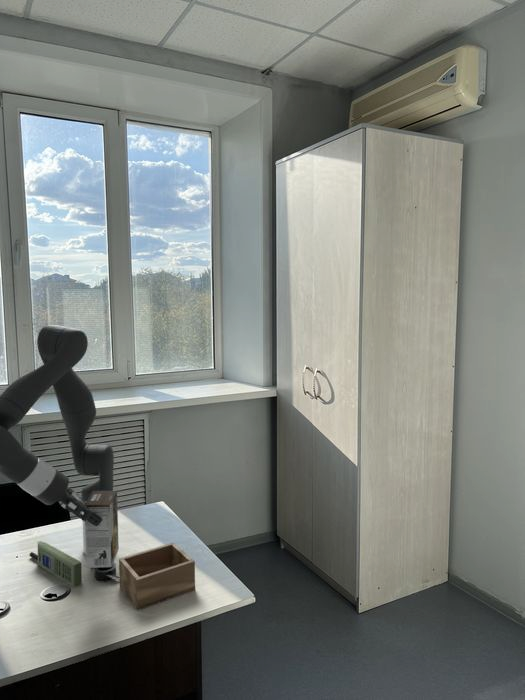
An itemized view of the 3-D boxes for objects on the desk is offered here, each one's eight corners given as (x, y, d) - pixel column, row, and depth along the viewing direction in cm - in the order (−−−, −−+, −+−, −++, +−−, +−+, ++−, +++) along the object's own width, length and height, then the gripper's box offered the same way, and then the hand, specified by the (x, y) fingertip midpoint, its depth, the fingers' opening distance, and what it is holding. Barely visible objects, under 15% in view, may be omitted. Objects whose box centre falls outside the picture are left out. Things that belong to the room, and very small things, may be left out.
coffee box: (94, 550, 136) (92, 490, 135) (119, 549, 137) (117, 489, 135) (85, 568, 127) (83, 504, 126) (112, 567, 128) (110, 503, 126)
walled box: (119, 586, 142) (118, 558, 141) (174, 569, 151) (173, 542, 150) (138, 610, 131) (137, 580, 130) (195, 589, 140) (194, 561, 139)
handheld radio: (72, 589, 141) (25, 560, 156) (83, 584, 144) (36, 556, 159) (72, 565, 140) (25, 538, 156) (83, 560, 143) (36, 535, 158)
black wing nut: (91, 588, 141) (91, 578, 141) (90, 570, 151) (90, 560, 150) (121, 583, 144) (120, 573, 143) (118, 565, 153) (117, 556, 153)
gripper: (61, 476, 117) (114, 513, 125) (47, 459, 129) (96, 494, 136) (37, 505, 115) (92, 540, 122) (25, 484, 126) (75, 518, 134)
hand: (94, 516), depth 129 cm, fingers closed on coffee box, 8 cm apart
